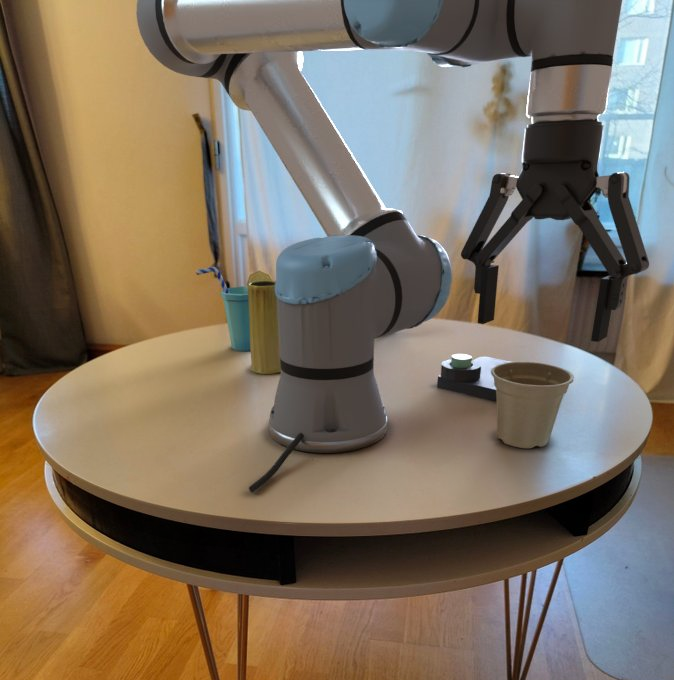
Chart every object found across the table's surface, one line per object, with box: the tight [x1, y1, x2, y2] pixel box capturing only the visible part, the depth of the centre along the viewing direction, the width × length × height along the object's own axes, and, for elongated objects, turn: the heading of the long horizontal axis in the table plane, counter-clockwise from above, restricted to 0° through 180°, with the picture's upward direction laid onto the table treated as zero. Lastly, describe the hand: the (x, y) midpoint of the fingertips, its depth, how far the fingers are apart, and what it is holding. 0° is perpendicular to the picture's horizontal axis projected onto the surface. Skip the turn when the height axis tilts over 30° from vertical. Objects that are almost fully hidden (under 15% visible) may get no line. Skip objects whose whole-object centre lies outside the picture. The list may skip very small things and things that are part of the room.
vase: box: [248, 280, 281, 375], centre depth 101 cm, size 6×6×14 cm
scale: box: [436, 355, 512, 402], centre depth 95 cm, size 14×13×4 cm
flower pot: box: [491, 361, 575, 449], centre depth 74 cm, size 9×9×9 cm
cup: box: [195, 266, 274, 352], centre depth 113 cm, size 14×8×15 cm, turn 95°
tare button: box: [451, 353, 473, 368], centre depth 93 cm, size 3×3×2 cm
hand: (539, 330), depth 70 cm, fingers open, 13 cm apart
